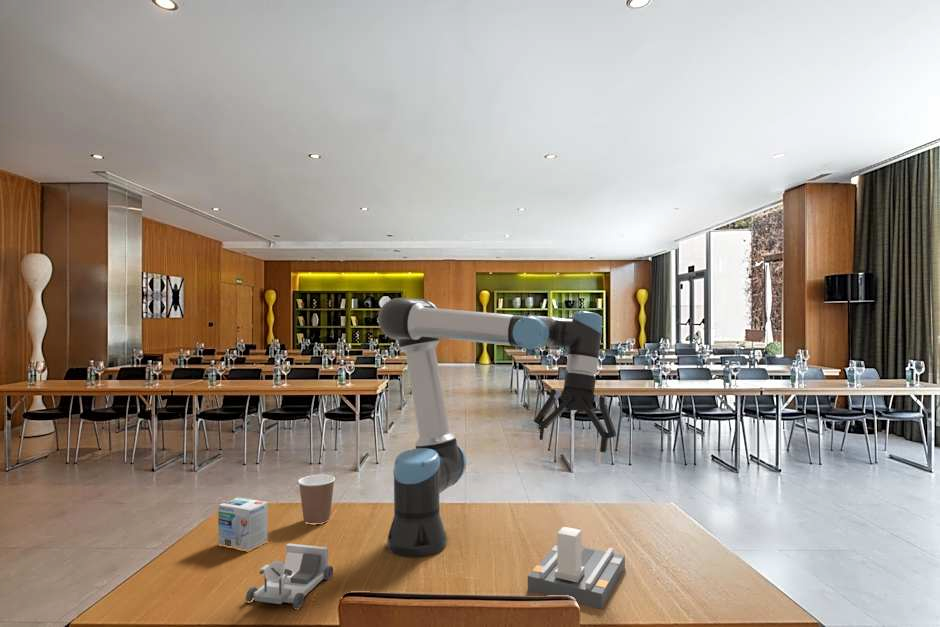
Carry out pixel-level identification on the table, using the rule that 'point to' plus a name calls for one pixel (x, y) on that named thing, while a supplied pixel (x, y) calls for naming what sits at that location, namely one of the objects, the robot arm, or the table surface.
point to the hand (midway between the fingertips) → (570, 459)
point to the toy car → (293, 575)
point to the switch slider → (569, 555)
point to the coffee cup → (316, 497)
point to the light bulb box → (242, 523)
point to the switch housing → (591, 586)
